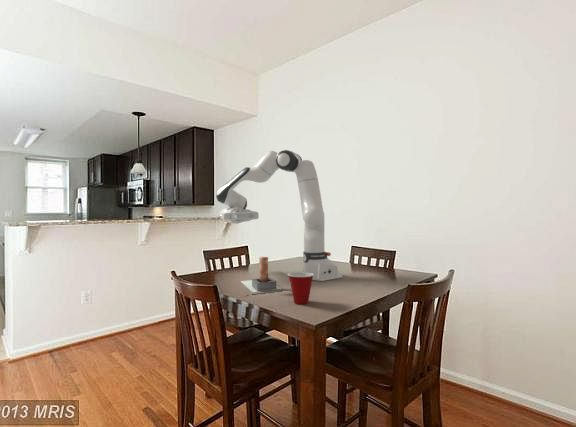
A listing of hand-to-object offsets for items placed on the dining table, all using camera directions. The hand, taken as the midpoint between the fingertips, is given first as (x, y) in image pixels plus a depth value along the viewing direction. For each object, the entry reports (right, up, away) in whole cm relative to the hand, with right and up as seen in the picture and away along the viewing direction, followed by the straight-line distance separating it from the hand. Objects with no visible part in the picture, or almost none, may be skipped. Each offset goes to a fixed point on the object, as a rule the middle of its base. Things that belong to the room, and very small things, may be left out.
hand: (246, 216), depth 171 cm
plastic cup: (+27, -35, -37) cm, 58 cm away
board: (+9, -34, -13) cm, 38 cm away
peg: (+11, -33, -19) cm, 39 cm away
